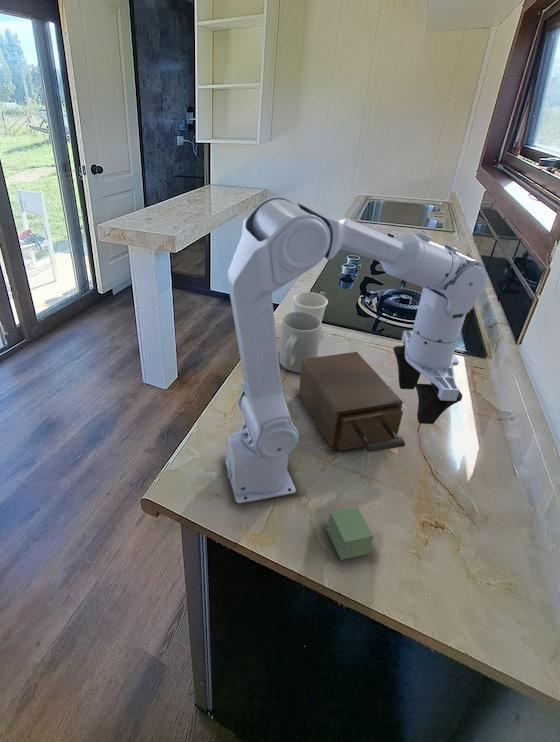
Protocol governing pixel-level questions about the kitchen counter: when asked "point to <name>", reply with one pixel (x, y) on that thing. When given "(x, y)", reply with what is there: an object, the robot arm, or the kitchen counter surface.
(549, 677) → the kitchen counter surface
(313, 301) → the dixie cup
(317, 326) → the mug
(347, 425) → the drawer
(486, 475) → the kitchen counter surface
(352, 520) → the block
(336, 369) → the cabinet
